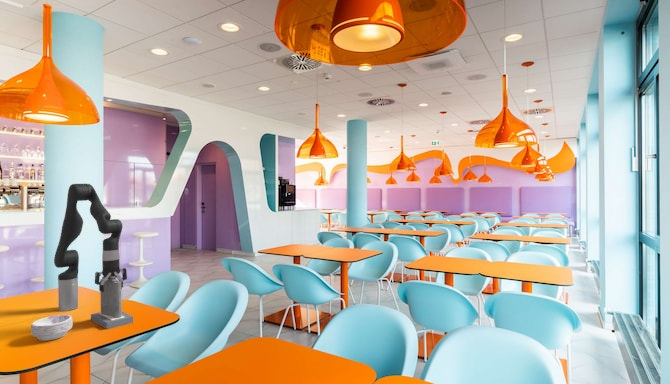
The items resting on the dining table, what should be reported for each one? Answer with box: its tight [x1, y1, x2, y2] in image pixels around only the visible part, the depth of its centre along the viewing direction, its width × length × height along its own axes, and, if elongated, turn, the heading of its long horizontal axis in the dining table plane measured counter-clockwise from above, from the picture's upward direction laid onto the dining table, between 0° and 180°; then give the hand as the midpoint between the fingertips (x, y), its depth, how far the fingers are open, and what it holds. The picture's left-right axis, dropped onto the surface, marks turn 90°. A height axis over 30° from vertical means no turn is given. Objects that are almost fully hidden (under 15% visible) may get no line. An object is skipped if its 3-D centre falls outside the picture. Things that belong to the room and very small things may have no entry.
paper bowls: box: [30, 314, 73, 342], centre depth 176 cm, size 15×15×8 cm
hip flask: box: [99, 276, 123, 318], centre depth 197 cm, size 16×4×20 cm, turn 58°
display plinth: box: [90, 311, 134, 330], centre depth 197 cm, size 22×12×3 cm, turn 50°
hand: (111, 290), depth 197 cm, fingers open, 8 cm apart
